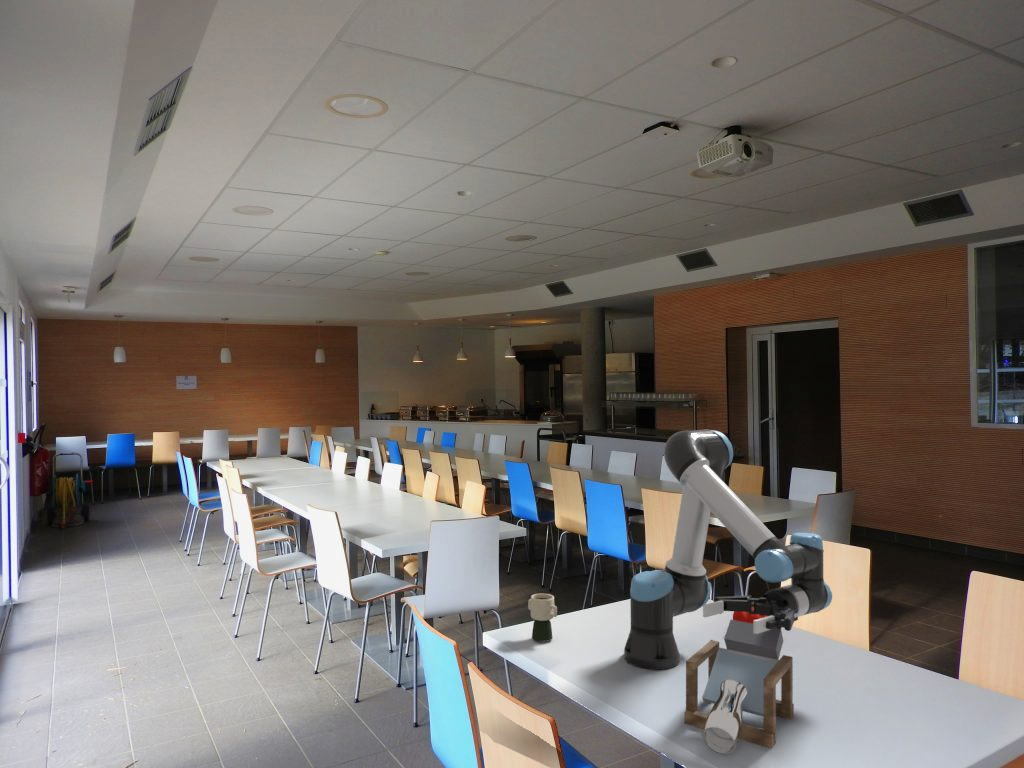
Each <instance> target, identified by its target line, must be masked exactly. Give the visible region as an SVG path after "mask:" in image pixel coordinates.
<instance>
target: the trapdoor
mask: <svg viewBox="0 0 1024 768" xmlns="http://www.w3.org/2000/svg"><path fill="white" fill-rule="evenodd" d="M723 640H724V643H725V646H726V648H724V647H720V646H719V650H718V653H717V656H716V659H715V662H714V665H713V668H712V671H711V674H710V677H709V680H708V679H707V680H708V681H707V683H706V686H705V689H704V692H703V695H702V697H701V698H702V701H703V702H705V703H711V704H713V705H714V704H715V702H716V701H717V699H718V697H719V693H720V685H721V683H722V682H723V681H725V680H729V679H731V680H736V681H738V682H740V683H741V684H743V685H744V686H745V688H746V689H747V691H748V699H747V701H746V702H745V704H744V706H743V713H748V714H751V715H757V716H759V717H763V718H764V678H765V677H766V675H767V674H768V673H769V672H770V671H771V669H772V668H773V667H774V666H775V665H776V663H777V662H778V661H779V660H780V654H781V651H782V648H783V644H784V637H783V632H782V628H781V629H777V628H775V629H771V630H768V631H765V632H762V633H758V634H755V633H753V624H752V623H746V622H741V621H736V620H733V619H730V620H729V623H728V626H727V628H726V632H725V635H724V638H723Z"/></svg>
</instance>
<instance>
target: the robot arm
mask: <svg viewBox="0 0 1024 768" xmlns="http://www.w3.org/2000/svg"><path fill="white" fill-rule="evenodd" d="M663 456H664V461H665V463H666V467H667V468H668V470H669V471H670V472H671V474H672V475H673V476H674V478H675V479H676V480H677V481H678V482H679V483H680V484H681V486H683V487H682V491H681V492H682V493H681V498H680V499H681V500H680V504H679V505H680V506H679V512H678V519H677V524H676V530H675V537H674V542H673V549H672V555H671V558H669V559H668V560H666V562H665V567H664V570H651V571H650V570H645V571H641V572H639V573H637V574H634V575H633V577H632V578H631V581H630V582H631V583H630V588H629V590H630V591H629V595H630V628H629V629H630V631H629V633H628V637H627V639H626V642H625V644H624V645H625V646H624V650H623V653H624V654H623V659H624V660H625V661H626V662H627V663H629V664H631V665H633V666H635V667H639V668H643V669H651V670H665V669H671V668H674V667H676V666H678V664H680V652H679V648H678V645H677V642H676V639H675V635H674V617H677V616H680V615H684V614H687V613H692V612H696V611H698V610H699V609H701V608H702V618H708V617H712V616H717V615H722V614H724V612H734V611H738V612H748V613H749V614H760V615H762V616H767V617H764V618H760V619H757V620H753V633H755V634H758V633H762V632H765V631H768V630H771V629H775V628H777V629H781V630H782V628H783V629H784V630H785V631H787V632H791V630H792V627H793V626H794V623H795V622H796V621H798V620H799V618H800V617H803V616H806V615H809V614H813V613H814V614H815V613H819V612H820V611H822V610H825V609H826V608H828V607H829V606H830V605H831V603H832V601H833V592H832V590H831V588H830V586H829V584H827V583H826V582H825V580H824V552H825V550H824V545H823V542H824V541H823V538H822V536H820V535H819V534H817V533H811V532H793V533H792V534H791V536H790V539H789V540H790V541H789V544H787V545H785V544H783V542H782V541H781V540H780V539H779V538H777V537H776V535H774V533H773V532H771V530H770V529H768V527H767V526H766V525H765V524H764V523H763V522H762V521H761V520H760V519H759V518H758V516H757V515H755V513H754V512H753V511H752V510H751V509H750V508H749V507H748V506H747V505H746V504H745V502H743V501H742V500H741V498H739V496H738V495H736V493H735V492H733V490H732V489H731V488H730V487H729V486H728V485H727V483H725V482H724V480H722V479H723V472H724V470H725V469H727V468H728V467H729V466H730V465H731V463H732V461H733V458H734V450H733V445H732V443H731V441H730V440H729V438H728V437H727V436H726V435H725V434H724V433H722V432H721V431H719V430H714V429H713V430H711V429H707V428H706V429H697V430H680V431H677V432H675V433H673V434H672V435H671V436H670V437H669V438H668V439H667V441H666V443H665V446H664V449H663ZM711 513H712V514H713V515H714V516H715V518H717V519H718V521H719V522H720V523H721V524H722V525H723V526H724V527H725V528H726V529H727V531H729V533H730V534H732V536H733V537H734V538H735V539H736V541H738V542H739V544H740V545H741V546H742V547H743V549H745V550H746V552H747V553H749V555H751V556H752V558H753V559H754V568H755V570H756V571H755V572H756V573H757V575H758V576H759V577H760V578H761V579H762V580H763V581H765V582H767V583H771V584H772V583H773V584H774V583H782V582H786V581H788V580H790V581H791V582H790V583H791V584H787V585H785V586H780V587H777V588H773V589H769V590H767V591H766V592H765V593H764V595H763V596H762V597H758V598H757V597H756V598H755V597H752V595H750V594H746V595H733V596H714V597H713V601H712V602H709V599H710V596H711V591H712V590H711V589H712V587H711V583H710V582H709V581H708V580H709V578H708V576H707V569H706V568H705V567H704V565H703V560H704V554H705V547H706V542H707V541H706V540H707V536H708V529H709V524H710V523H709V522H710V517H711ZM708 602H709V603H708ZM752 605H753V606H754V611H752V607H753V606H752Z"/></svg>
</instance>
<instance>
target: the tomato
mask: <svg viewBox="0 0 1024 768" xmlns="http://www.w3.org/2000/svg"><path fill="white" fill-rule="evenodd" d="M752 611H754V605H753V606H752ZM764 617H767V616H762V615H760V614H749V613H748V612H738V611H733V614H732V620H736V621H741V622H746V623H752V624H753V620H757V619H760V618H764Z"/></svg>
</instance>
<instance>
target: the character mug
mask: <svg viewBox="0 0 1024 768" xmlns="http://www.w3.org/2000/svg"><path fill="white" fill-rule="evenodd" d="M527 602H528V605H527V606H528V610H529V611H530V618H531V619H532V620H534V621H533V624H532V630H531V631H532V632H531V634H532V635H531V639H532V640H533V641H535V642H547V641H550V640H553V629H552V623H551V620H552V619H553V618H557V615H558V607H557V606H556V605H555V596H554V594H553V595H552V594H550V593H535V594H532V595H531V596H530V599H528V600H527Z"/></svg>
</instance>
